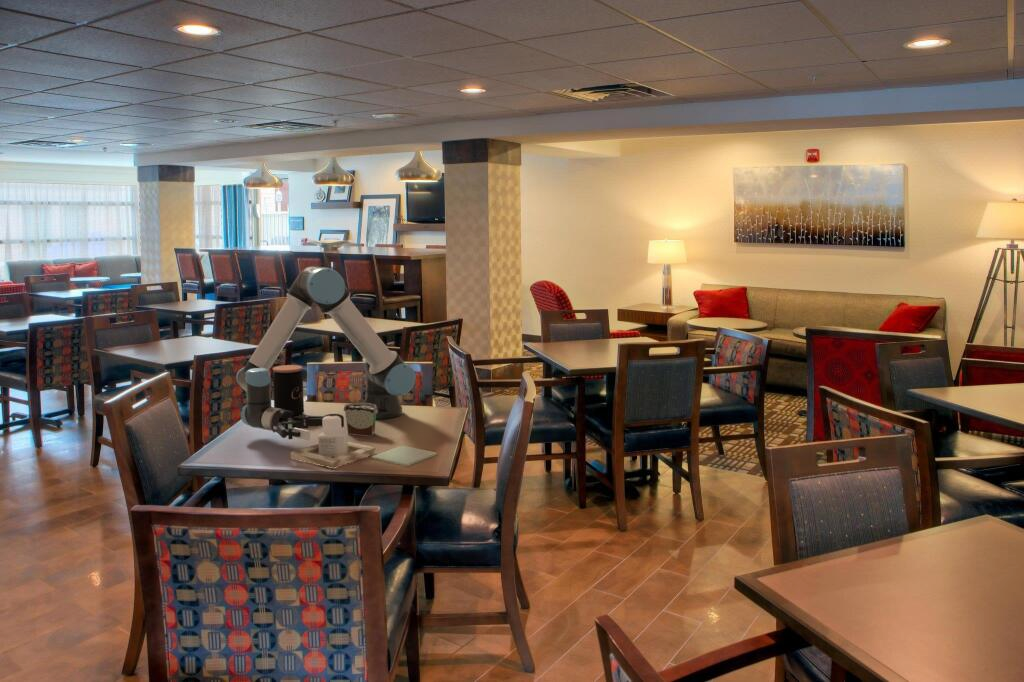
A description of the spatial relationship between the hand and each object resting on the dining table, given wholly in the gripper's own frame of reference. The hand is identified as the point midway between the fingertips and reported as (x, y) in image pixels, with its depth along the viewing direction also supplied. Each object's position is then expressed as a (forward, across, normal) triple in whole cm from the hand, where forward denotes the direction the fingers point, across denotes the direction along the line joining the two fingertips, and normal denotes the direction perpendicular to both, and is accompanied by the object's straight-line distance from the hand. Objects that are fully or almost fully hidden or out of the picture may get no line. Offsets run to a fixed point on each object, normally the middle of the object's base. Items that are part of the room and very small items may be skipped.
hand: (326, 430), depth 233 cm
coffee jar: (-50, -28, -8) cm, 58 cm away
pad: (+20, -13, -8) cm, 25 cm away
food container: (-9, -26, -8) cm, 28 cm away
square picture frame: (+2, -1, -8) cm, 8 cm away
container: (+2, -1, -8) cm, 9 cm away
